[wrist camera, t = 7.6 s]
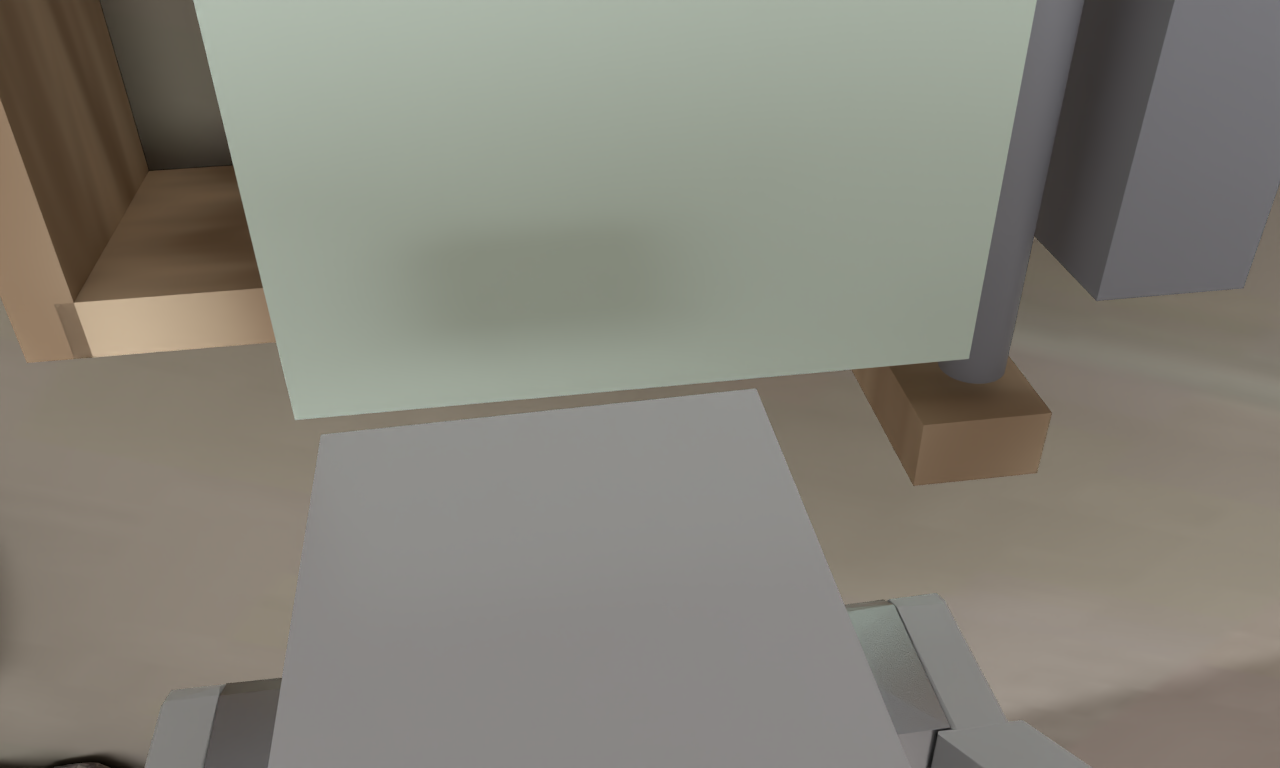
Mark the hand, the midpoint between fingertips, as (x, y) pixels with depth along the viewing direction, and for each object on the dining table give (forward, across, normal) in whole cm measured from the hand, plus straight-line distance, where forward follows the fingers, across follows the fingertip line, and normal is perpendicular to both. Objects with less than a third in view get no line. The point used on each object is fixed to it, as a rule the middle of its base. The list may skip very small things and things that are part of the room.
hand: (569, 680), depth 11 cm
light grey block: (+2, 0, 0) cm, 2 cm away
